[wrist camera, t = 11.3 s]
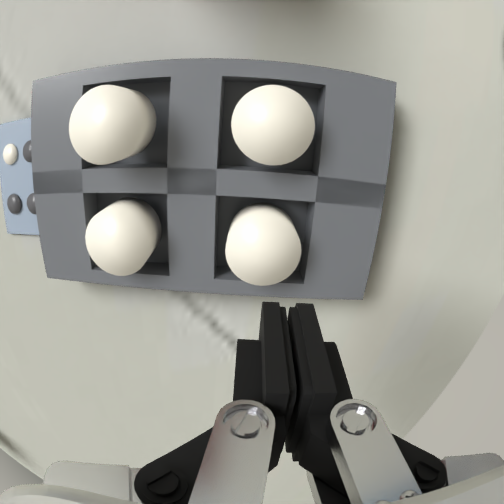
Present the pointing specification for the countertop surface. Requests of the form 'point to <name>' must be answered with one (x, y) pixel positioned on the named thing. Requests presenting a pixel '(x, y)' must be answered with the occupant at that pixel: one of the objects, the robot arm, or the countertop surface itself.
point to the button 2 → (123, 236)
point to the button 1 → (111, 124)
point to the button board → (207, 175)
